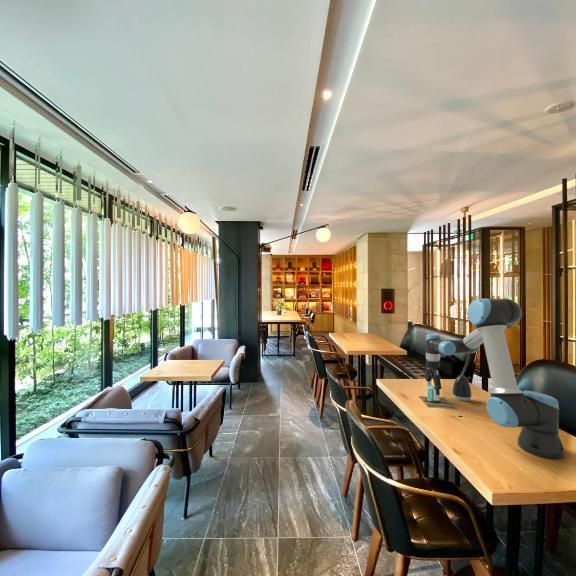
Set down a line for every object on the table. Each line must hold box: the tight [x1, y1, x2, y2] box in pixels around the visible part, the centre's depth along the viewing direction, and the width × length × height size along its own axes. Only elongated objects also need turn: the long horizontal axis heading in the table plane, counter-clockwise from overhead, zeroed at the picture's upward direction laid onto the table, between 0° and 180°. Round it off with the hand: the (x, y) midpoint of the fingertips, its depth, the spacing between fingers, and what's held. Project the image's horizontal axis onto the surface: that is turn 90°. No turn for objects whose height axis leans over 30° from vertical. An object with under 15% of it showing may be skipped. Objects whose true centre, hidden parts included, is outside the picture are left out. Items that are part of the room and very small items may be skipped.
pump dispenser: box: [451, 374, 472, 402], centre depth 185 cm, size 10×10×15 cm
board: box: [418, 395, 457, 410], centre depth 179 cm, size 18×15×1 cm
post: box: [425, 396, 440, 403], centre depth 181 cm, size 8×8×6 cm
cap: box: [426, 385, 438, 401], centre depth 181 cm, size 6×6×7 cm
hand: (432, 396), depth 181 cm, fingers open, 13 cm apart
